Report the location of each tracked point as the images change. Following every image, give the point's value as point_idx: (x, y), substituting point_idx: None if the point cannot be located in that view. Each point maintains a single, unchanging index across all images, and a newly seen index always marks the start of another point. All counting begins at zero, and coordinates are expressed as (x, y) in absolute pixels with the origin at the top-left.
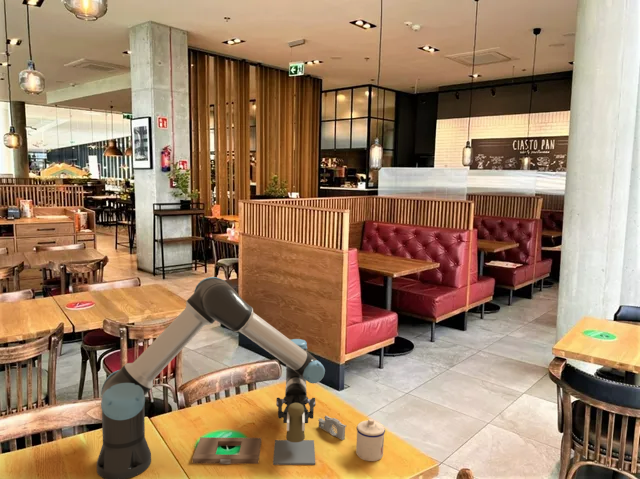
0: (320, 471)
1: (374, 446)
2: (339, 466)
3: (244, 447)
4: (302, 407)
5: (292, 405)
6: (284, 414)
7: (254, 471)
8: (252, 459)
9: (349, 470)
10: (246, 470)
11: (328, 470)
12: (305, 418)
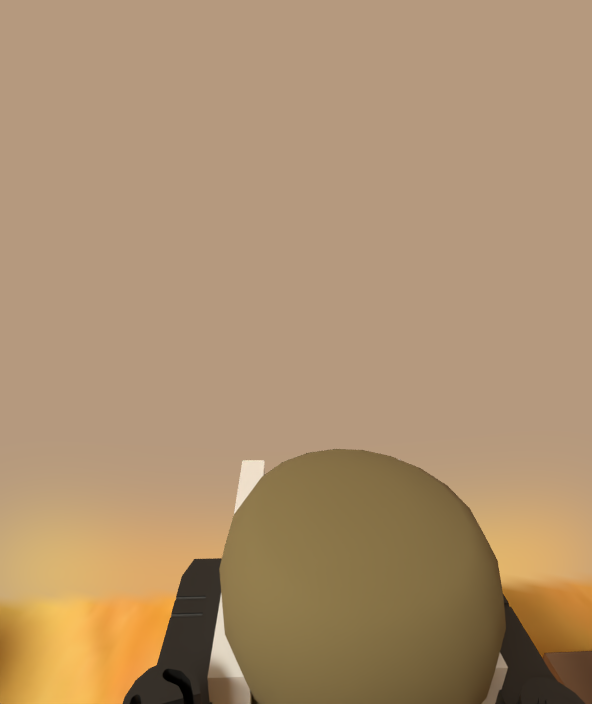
0: (170, 612)
1: None
2: (33, 667)
3: None
4: (251, 491)
5: (414, 484)
6: (537, 675)
7: (507, 599)
8: (579, 653)
9: (3, 627)
10: (552, 605)
11: (122, 623)
12: (218, 569)
